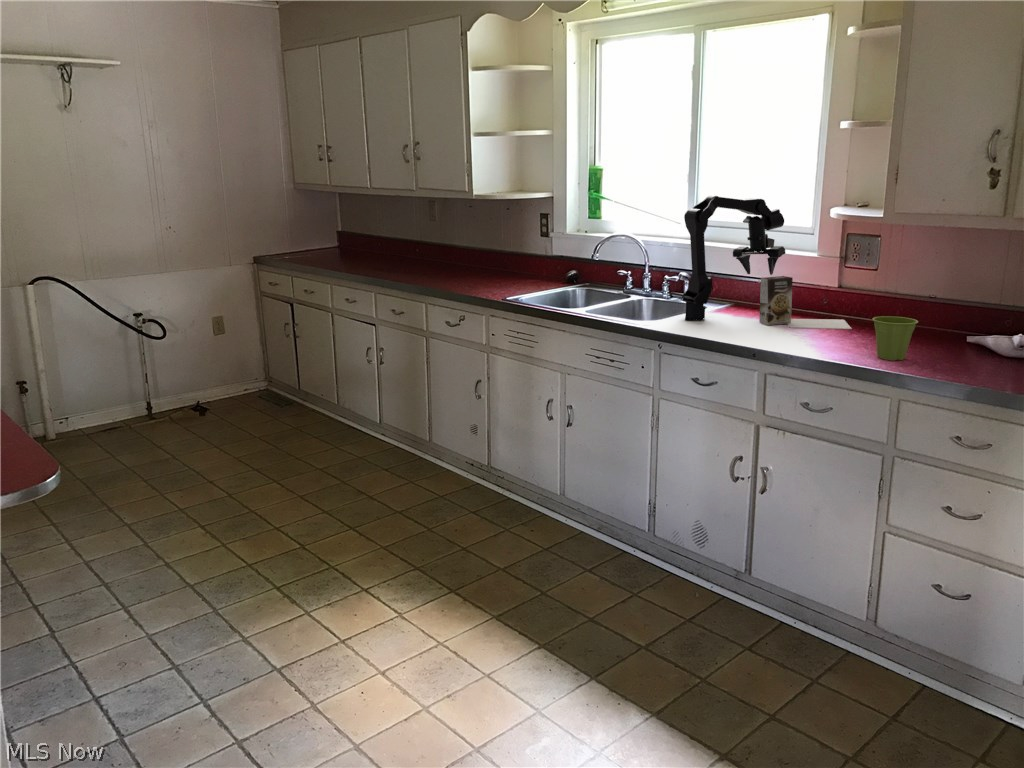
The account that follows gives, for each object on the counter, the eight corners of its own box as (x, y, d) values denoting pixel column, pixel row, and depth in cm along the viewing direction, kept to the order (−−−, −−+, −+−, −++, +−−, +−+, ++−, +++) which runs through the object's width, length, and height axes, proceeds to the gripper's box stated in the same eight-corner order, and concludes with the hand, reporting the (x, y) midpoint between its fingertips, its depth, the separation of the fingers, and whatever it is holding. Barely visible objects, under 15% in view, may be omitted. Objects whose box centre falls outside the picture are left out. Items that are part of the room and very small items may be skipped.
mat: (789, 328, 278) (789, 327, 278) (784, 319, 294) (785, 318, 293) (851, 329, 274) (851, 328, 274) (843, 320, 289) (843, 319, 289)
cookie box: (767, 325, 283) (768, 279, 279) (758, 322, 289) (759, 277, 285) (791, 323, 285) (793, 277, 281) (782, 320, 291) (783, 275, 287)
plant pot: (917, 363, 227) (922, 324, 224) (871, 362, 230) (875, 322, 227) (909, 354, 238) (914, 316, 235) (866, 352, 241) (869, 315, 238)
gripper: (791, 227, 297) (794, 269, 302) (745, 228, 311) (749, 268, 316) (776, 234, 290) (779, 277, 295) (730, 235, 304) (733, 276, 309)
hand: (760, 274), depth 304 cm, fingers open, 9 cm apart
